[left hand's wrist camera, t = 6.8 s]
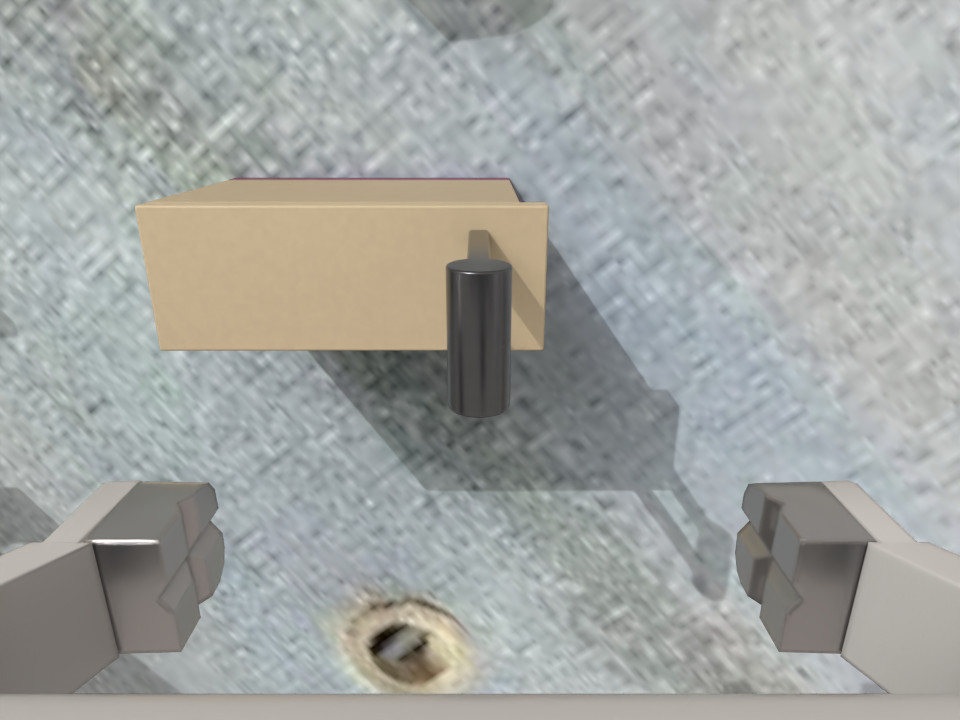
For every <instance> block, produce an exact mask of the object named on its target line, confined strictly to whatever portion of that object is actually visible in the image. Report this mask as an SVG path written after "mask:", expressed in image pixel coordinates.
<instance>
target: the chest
mask: <svg viewBox="0 0 960 720" xmlns="http://www.w3.org/2000/svg"><path fill="white" fill-rule="evenodd" d="M150 202H519V200H518V197H517V195H516V193H515V191H514V189H513V187H512V184H511V182H510V179H509V178H234V179H230V180H228V181H224V182H221V183H217V184H213V185H210V186H206V187H202V188H198V189H195V190H191V191H187V192H184V193H180V194H176V195H172V196H169V197H165V198H161V199H157V200H154V201H150Z"/></svg>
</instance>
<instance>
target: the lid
mask: <svg viewBox="0 0 960 720" xmlns="http://www.w3.org/2000/svg"><path fill="white" fill-rule="evenodd" d="M135 210H136V216H137V221H138V227H139V233H140V238H141V244H142V249H143V255H144V261H145V266H146V272H147V277H148V283H149V289H150V294H151V300H152V305H153V311H154V317H155V322H156V328H157V333H158V339H159V345H160V349H161V350H163V351H164V350H447V377H448V406H449V408H450V409H451V410H452V411H453V412H455V413H457V414H459V415H462V416H467V417H476V418H482V417H491V416H496V415H499V414H501V413H503V412H505V411H506V410H507V409H508V408H509V405H510V366H511V350H543V349H544V328H545V301H546V273H547V246H548V218H549V207H548V205H547V204H546V203H544V202H147V203H144V204H140V205H137V206H135Z"/></svg>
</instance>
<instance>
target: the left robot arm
mask: <svg viewBox="0 0 960 720" xmlns="http://www.w3.org/2000/svg"><path fill="white" fill-rule="evenodd" d="M217 510H218V503H217V498H216V493H215V489H214V488H213V487H212V486H211V485H210V484H209V483H200V482H148V481H146V482H142V481H113V482H107V483H103V484H102V485H101V486H100V487H99V488H98V489H97V490H96V491H95V492H94V493H93V494H92V495H91V496H90V497H89V498H88V499H87V500H86V501H85V502H84V503H83V504H82V505H81V506H80V507H79V508H78V509H77V510H76V511H74V512H73V513H72V514H71V515H70V516H69V517H68V518H67V519H66V520H65V521H64V522H63V523H62V524H61V525H60V526H59V527H58V528H57V529H56V530H55V531H54V532H53V533H52V534H51V535H50V536H49V537H48V538H47V539H45V540H44V541H43V542H31V543H29V544H27V545H24V546H22V547H20V548H17V549H15V550H13V551H10V552H8V553H6V554H4V555H1V556H0V720H960V556H959V555H956V554H954V553H952V552H949V551H947V550H945V549H943V548H940V547H938V546H936V545H933V544H931V543H929V542H917V541H916V540H915V539H914V538H912V537H911V536H910V535H909V534H908V533H907V532H906V531H905V530H904V529H903V528H902V527H901V526H900V525H899V524H898V523H897V522H896V521H895V520H894V519H893V518H892V517H891V516H890V515H889V514H888V513H887V512H886V511H885V510H884V509H883V508H882V507H880V506H879V505H878V504H877V503H876V502H875V501H874V500H873V499H872V498H871V497H870V496H869V495H868V494H867V493H866V492H865V491H864V490H863V489H862V488H861V487H860V486H859V485H858V484H856V483H853V482H851V481H827V482H788V483H754V484H748V486H747V488H746V491H745V493H744V497H743V503H742V510H743V511H744V513H745V514H746V516H747V517H748V519H749V520H750V521H749V522H748V523H747V524H746V525H745V526H744V527H743V528H742V529H741V530H740V531H739V532H738V533H737V541H736V550H735V556H736V566H737V572H738V575H739V579H740V582H741V584H742V586H743V588H744V590H745V592H746V594H747V596H749V597H750V598H752V599H753V600H755V601H756V602H758V603H759V604H761V605H762V606H761V612H760V619H761V621H762V623H763V624H764V626H765V628H766V630H767V632H768V633H769V635H770V637H771V639H772V640H773V642H774V644H775V646H776V647H777V649H778V651H779V652H800V653H837V654H841V657H842V658H843V659H845V660H846V661H847V662H849V663H850V664H851V665H852V666H854V667H855V668H856V669H858V670H859V671H860V672H861V673H863V674H864V675H865V676H867V677H868V678H869V679H870V680H872V681H873V682H874V683H876V684H877V685H878V686H879V687H881V688H882V689H883V690H885V691H886V692H887V693H889V694H72V693H73V692H74V691H76V690H77V689H78V688H79V687H81V686H82V685H83V684H85V683H86V682H87V681H88V680H90V679H91V678H92V677H94V676H95V675H96V674H98V673H99V672H100V671H101V670H103V669H104V668H105V667H107V666H108V665H109V664H110V663H112V662H113V661H114V660H116V659H117V658H118V657H119V654H123V653H158V652H181V651H182V649H183V648H184V646H185V644H186V642H187V640H188V639H189V637H190V635H191V633H192V632H193V630H194V628H195V626H196V624H197V623H198V621H199V619H200V612H199V606H198V605H199V604H201V603H202V602H204V601H205V600H207V599H208V598H210V597H211V596H213V594H214V592H215V590H216V588H217V586H218V584H219V582H220V579H221V575H222V570H223V566H224V549H225V547H224V540H223V533H222V532H221V531H220V530H219V529H218V528H217V527H216V526H215V525H214V524H213V523H212V522H211V521H210V520H211V519H212V517H213V516H214V514H215V513H216V511H217Z"/></svg>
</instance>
